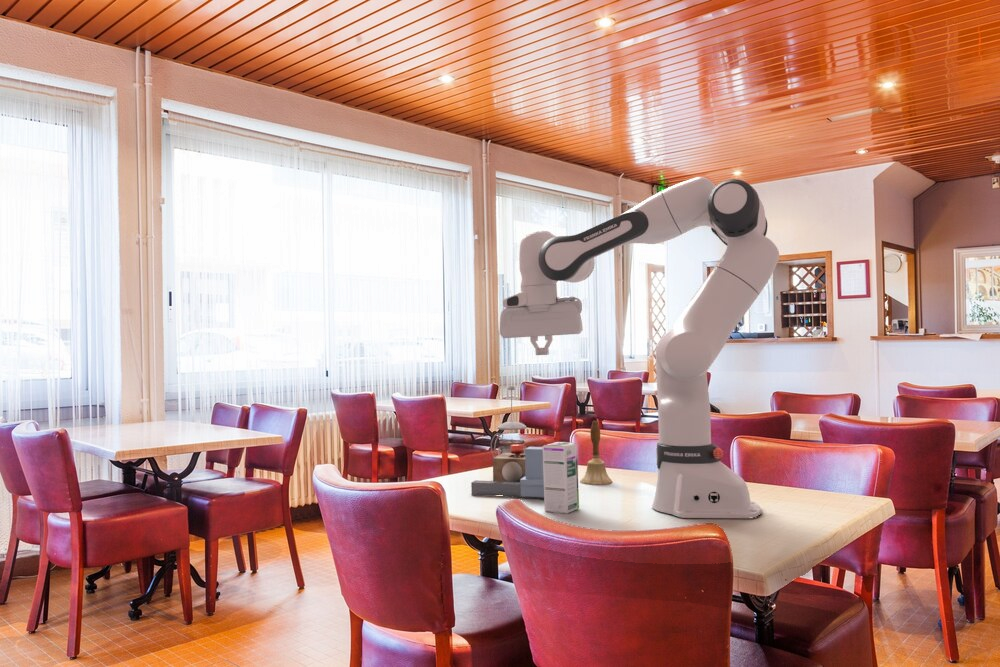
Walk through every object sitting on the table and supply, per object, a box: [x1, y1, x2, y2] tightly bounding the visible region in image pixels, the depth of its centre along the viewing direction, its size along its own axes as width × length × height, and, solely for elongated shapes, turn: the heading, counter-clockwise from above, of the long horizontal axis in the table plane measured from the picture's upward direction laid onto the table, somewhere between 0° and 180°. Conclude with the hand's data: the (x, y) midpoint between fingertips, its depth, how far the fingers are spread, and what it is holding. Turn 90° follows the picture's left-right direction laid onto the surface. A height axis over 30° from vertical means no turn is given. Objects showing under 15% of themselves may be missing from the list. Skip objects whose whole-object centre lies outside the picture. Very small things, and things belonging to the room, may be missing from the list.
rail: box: [470, 479, 544, 499], centre depth 180 cm, size 21×3×3 cm, turn 74°
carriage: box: [520, 446, 544, 498], centre depth 178 cm, size 6×7×11 cm
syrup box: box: [542, 441, 580, 515], centre depth 163 cm, size 6×6×14 cm
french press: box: [490, 385, 527, 458], centre depth 205 cm, size 10×12×25 cm
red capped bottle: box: [511, 444, 525, 457], centre depth 190 cm, size 3×3×8 cm
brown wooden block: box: [492, 453, 525, 482], centre depth 190 cm, size 10×11×8 cm
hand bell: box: [580, 420, 613, 486], centre depth 196 cm, size 8×8×16 cm
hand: (542, 355), depth 183 cm, fingers closed
